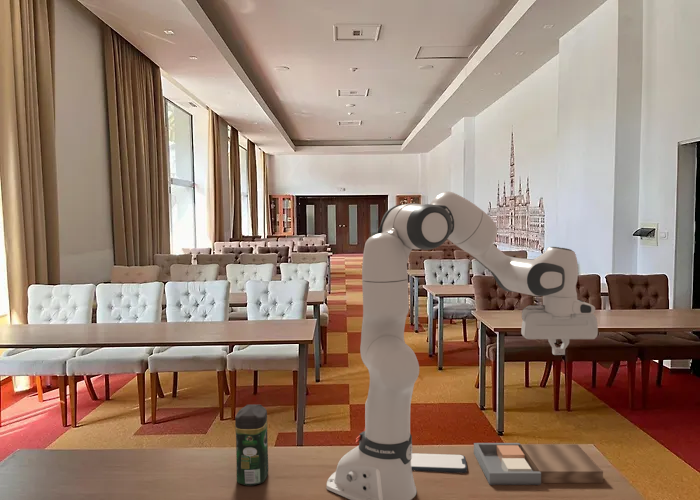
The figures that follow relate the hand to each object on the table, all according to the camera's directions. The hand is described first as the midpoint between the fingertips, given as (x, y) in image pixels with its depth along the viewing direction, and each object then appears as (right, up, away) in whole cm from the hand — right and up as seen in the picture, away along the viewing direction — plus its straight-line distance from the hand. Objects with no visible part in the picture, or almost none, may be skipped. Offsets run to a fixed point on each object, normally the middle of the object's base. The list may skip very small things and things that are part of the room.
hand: (558, 354), depth 152 cm
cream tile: (-15, -29, -9) cm, 34 cm away
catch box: (-16, -30, -5) cm, 34 cm away
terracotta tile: (-14, -29, -1) cm, 32 cm away
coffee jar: (-84, -30, -10) cm, 90 cm away
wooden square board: (-2, -30, -5) cm, 30 cm away
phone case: (-35, -30, -3) cm, 46 cm away
